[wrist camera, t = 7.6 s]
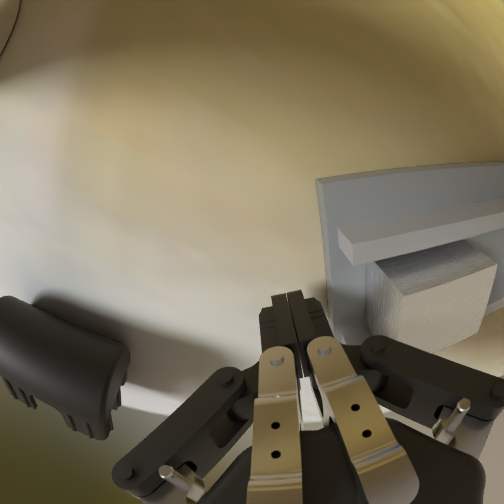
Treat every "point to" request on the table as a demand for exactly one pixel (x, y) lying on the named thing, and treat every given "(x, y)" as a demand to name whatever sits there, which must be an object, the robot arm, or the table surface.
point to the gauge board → (404, 228)
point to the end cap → (61, 366)
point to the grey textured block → (429, 295)
